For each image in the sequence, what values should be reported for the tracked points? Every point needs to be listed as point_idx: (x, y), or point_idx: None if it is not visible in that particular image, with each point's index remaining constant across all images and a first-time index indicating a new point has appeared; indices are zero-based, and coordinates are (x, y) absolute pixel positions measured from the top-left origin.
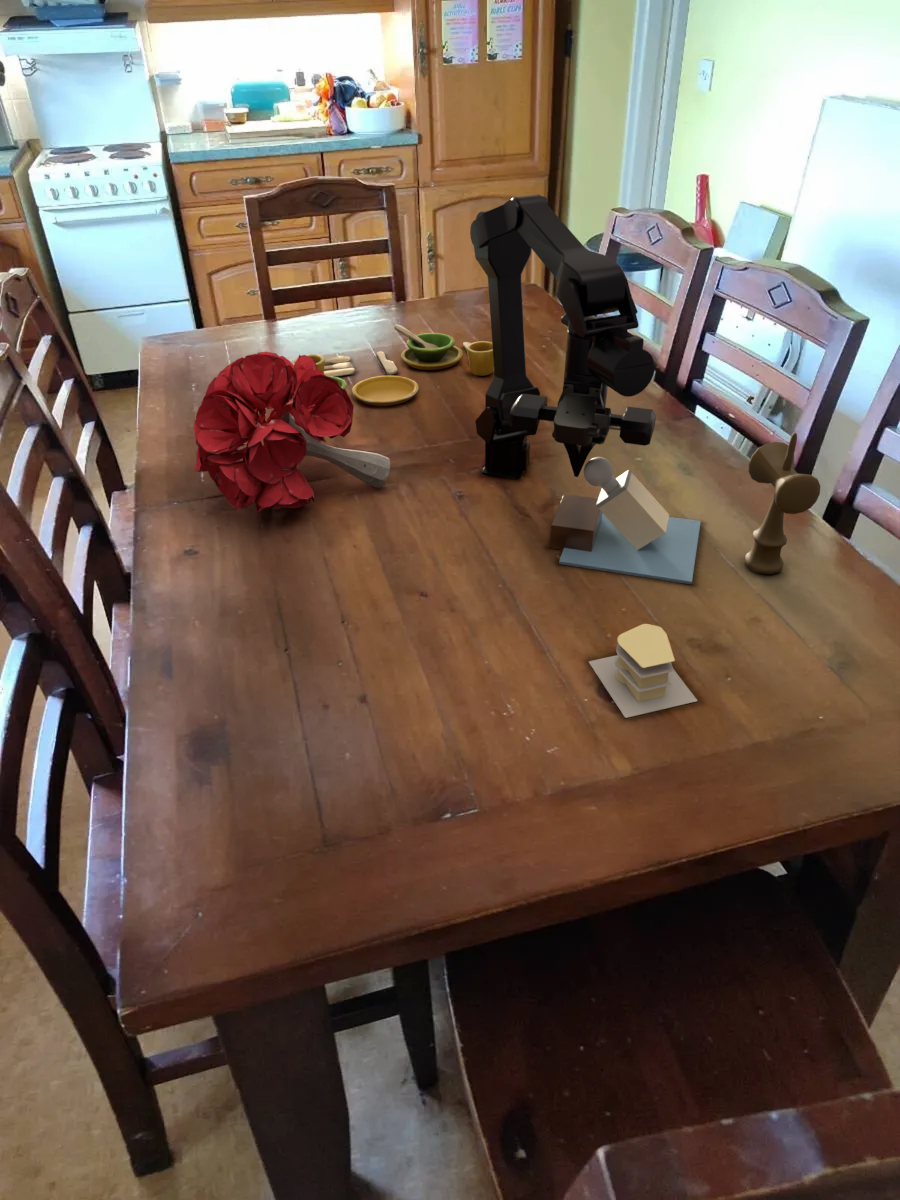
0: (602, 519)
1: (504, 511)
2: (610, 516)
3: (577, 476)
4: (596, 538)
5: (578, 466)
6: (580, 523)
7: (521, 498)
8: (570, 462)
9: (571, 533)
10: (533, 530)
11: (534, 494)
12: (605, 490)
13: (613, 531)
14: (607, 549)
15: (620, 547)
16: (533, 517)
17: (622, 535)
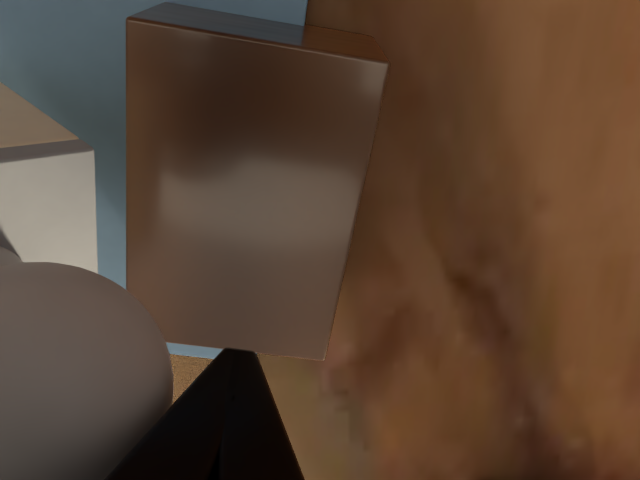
0: None
1: (552, 303)
2: (12, 111)
3: (228, 349)
4: None
5: (207, 415)
6: (215, 93)
7: (476, 386)
8: (292, 450)
9: (265, 34)
10: (442, 182)
11: (426, 412)
12: (11, 257)
13: None
14: (87, 35)
15: (28, 60)
16: (437, 275)
17: None
